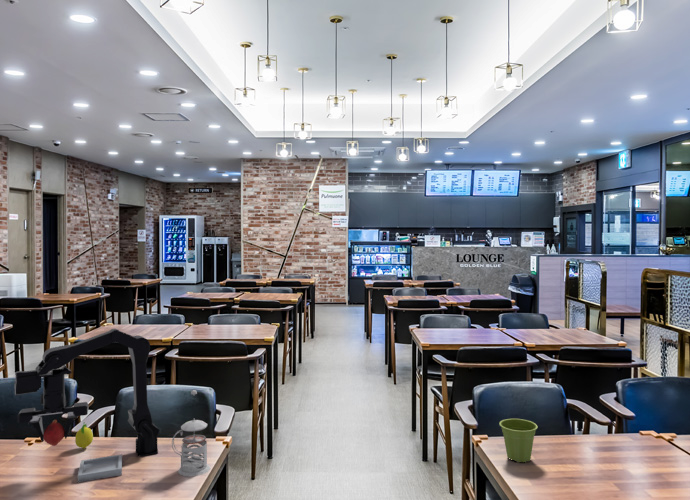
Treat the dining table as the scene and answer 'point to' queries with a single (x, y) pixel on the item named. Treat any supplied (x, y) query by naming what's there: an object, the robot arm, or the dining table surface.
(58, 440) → the onion
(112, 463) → the dish
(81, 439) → the lemon
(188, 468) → the french press
